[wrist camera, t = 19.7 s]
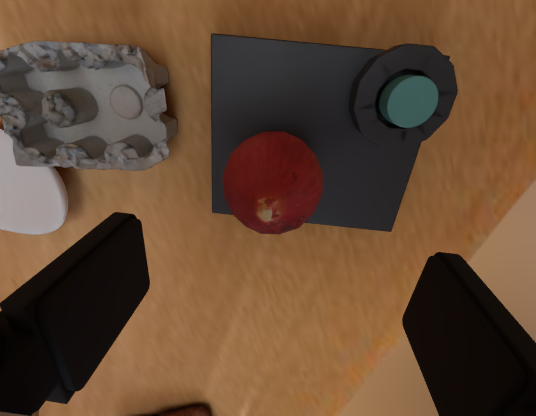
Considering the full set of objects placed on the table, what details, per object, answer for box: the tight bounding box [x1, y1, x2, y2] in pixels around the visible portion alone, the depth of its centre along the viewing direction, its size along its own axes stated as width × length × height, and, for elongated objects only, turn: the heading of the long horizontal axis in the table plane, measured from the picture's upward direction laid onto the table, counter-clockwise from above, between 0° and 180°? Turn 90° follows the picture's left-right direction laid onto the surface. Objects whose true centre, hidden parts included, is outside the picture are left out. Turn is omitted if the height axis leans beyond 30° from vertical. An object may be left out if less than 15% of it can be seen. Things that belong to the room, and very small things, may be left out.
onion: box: [222, 131, 323, 234], centre depth 16 cm, size 6×6×8 cm
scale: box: [211, 34, 458, 232], centre depth 19 cm, size 14×12×3 cm
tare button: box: [379, 75, 438, 128], centre depth 15 cm, size 3×3×2 cm
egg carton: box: [0, 41, 177, 171], centre depth 18 cm, size 11×8×4 cm
